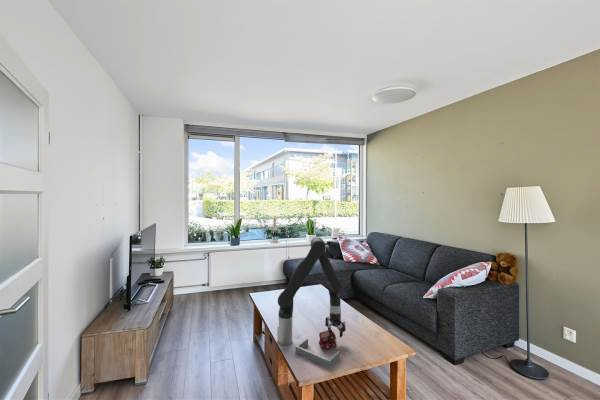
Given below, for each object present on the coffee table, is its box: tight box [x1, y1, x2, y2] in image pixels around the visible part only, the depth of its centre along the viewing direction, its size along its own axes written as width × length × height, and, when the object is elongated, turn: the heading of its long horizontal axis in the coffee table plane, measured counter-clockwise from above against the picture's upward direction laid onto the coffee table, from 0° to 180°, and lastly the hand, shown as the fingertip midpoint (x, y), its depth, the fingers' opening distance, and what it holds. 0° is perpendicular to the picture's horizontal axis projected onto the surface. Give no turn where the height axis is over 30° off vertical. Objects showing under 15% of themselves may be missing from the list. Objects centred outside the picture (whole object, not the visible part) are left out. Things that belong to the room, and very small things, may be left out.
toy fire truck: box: [318, 328, 337, 351], centre depth 177 cm, size 7×12×10 cm, turn 119°
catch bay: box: [294, 338, 341, 369], centre depth 167 cm, size 25×12×4 cm, turn 53°
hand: (335, 334), depth 184 cm, fingers open, 8 cm apart
